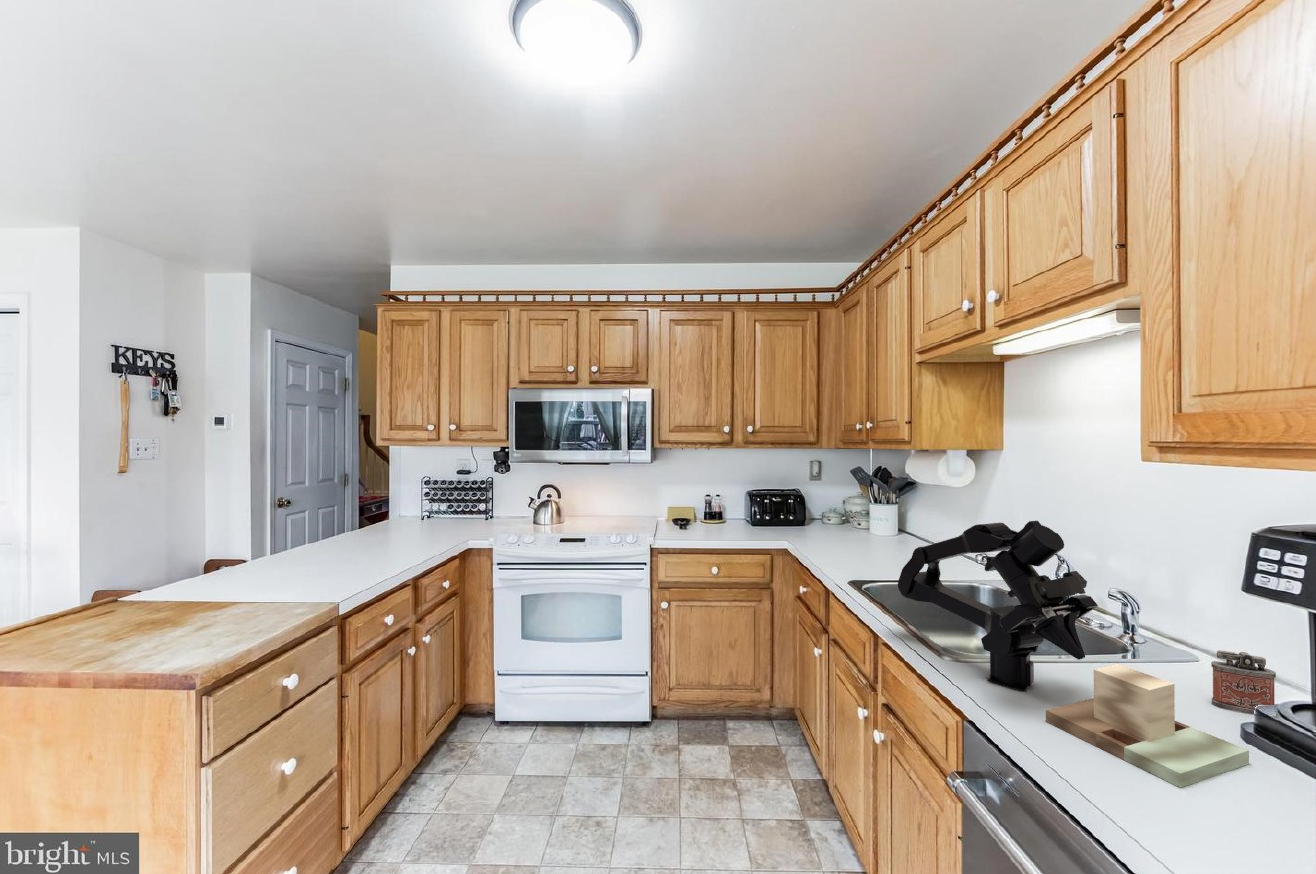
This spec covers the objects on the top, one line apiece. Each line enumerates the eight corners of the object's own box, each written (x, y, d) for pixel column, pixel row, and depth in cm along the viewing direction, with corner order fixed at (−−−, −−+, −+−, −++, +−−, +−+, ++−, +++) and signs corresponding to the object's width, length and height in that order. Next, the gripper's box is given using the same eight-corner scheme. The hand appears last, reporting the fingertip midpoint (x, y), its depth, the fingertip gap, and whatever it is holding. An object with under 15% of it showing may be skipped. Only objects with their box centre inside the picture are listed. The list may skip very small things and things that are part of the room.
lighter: (1271, 710, 98) (1270, 654, 98) (1279, 719, 95) (1279, 661, 95) (1208, 700, 102) (1208, 645, 102) (1215, 708, 99) (1214, 652, 99)
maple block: (1093, 717, 93) (1093, 669, 93) (1118, 710, 95) (1117, 663, 95) (1149, 742, 85) (1149, 690, 85) (1174, 734, 87) (1174, 683, 87)
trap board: (1045, 721, 96) (1045, 710, 95) (1109, 705, 101) (1109, 694, 101) (1180, 787, 78) (1180, 773, 78) (1249, 763, 83) (1248, 750, 83)
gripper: (1014, 561, 99) (1079, 645, 89) (1087, 552, 105) (1155, 630, 95) (976, 592, 107) (1031, 674, 96) (1045, 582, 113) (1104, 658, 103)
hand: (1082, 658), depth 97 cm, fingers closed
